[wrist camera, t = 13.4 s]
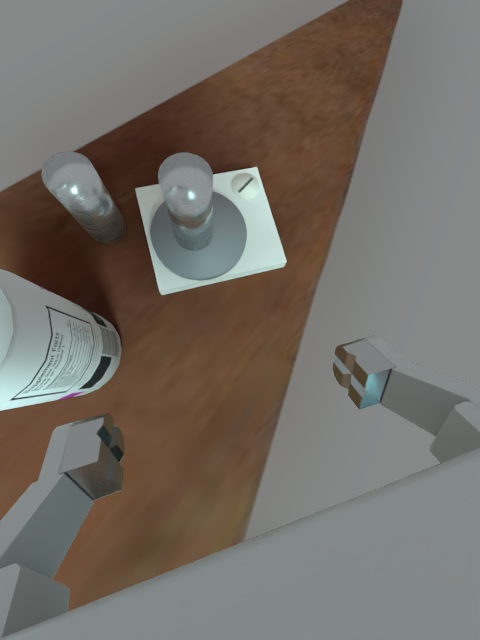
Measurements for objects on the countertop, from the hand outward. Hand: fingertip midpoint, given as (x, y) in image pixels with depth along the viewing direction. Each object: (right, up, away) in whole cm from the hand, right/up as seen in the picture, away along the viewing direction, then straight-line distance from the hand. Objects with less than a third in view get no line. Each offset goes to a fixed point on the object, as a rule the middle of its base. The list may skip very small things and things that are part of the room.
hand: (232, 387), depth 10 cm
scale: (-3, +13, +22) cm, 25 cm away
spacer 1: (-14, +13, +21) cm, 28 cm away
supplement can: (-16, -1, +18) cm, 24 cm away
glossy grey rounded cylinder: (-5, +12, +19) cm, 23 cm away
